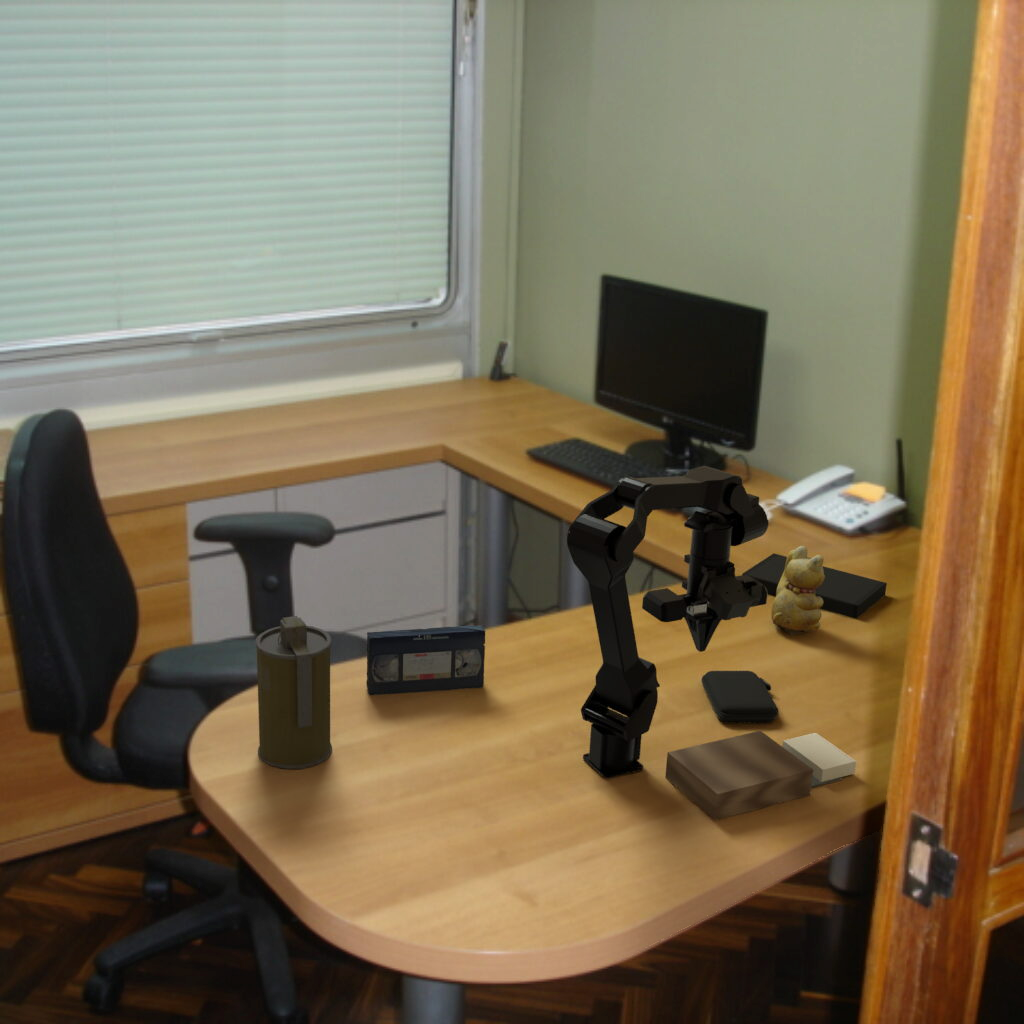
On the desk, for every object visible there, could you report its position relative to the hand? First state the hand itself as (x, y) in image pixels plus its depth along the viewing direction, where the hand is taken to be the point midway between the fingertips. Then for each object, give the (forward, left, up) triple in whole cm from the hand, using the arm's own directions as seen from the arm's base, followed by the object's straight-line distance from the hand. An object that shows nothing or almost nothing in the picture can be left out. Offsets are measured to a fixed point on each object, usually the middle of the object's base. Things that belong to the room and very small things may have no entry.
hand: (700, 650), depth 205 cm
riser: (-5, -18, -12) cm, 22 cm away
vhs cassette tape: (-33, +26, -12) cm, 44 cm away
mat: (+7, -18, -12) cm, 23 cm away
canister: (-58, +15, -12) cm, 61 cm away
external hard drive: (+51, +35, -13) cm, 63 cm away
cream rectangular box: (+9, -18, -10) cm, 22 cm away
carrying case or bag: (+11, +2, -13) cm, 17 cm away
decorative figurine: (+36, +22, -12) cm, 44 cm away
